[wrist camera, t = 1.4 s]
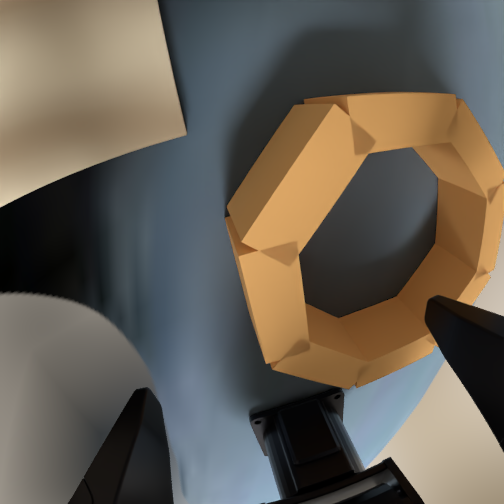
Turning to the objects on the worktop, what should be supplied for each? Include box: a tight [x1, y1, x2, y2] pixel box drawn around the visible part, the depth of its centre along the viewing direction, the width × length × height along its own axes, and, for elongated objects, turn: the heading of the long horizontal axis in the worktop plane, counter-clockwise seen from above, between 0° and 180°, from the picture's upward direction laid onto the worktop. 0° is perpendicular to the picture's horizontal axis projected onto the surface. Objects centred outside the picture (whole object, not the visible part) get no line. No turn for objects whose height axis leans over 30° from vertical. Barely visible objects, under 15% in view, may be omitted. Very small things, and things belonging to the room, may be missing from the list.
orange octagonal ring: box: [225, 92, 504, 389], centre depth 12 cm, size 13×13×4 cm
